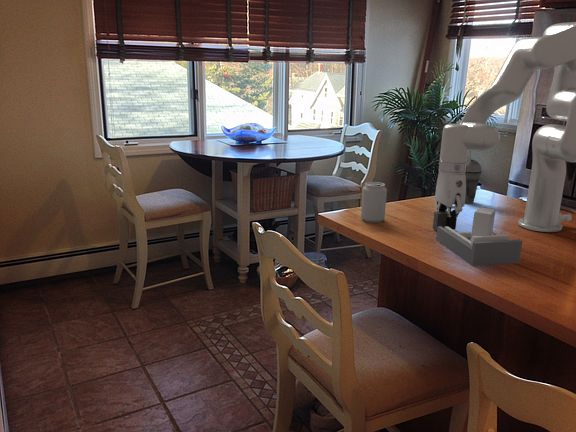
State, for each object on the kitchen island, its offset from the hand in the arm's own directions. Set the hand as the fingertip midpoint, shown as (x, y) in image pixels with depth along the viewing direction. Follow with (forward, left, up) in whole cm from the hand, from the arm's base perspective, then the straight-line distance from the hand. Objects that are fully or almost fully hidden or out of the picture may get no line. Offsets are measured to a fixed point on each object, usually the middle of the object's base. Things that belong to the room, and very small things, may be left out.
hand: (445, 226), depth 159 cm
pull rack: (0, +11, -1) cm, 11 cm away
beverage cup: (-24, -30, -2) cm, 39 cm away
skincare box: (0, +19, -2) cm, 19 cm away
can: (+18, -14, -2) cm, 23 cm away
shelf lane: (0, +17, -2) cm, 17 cm away
